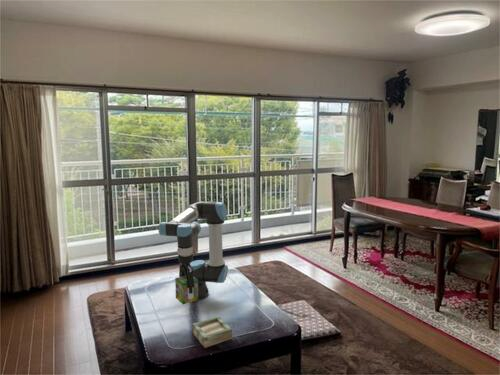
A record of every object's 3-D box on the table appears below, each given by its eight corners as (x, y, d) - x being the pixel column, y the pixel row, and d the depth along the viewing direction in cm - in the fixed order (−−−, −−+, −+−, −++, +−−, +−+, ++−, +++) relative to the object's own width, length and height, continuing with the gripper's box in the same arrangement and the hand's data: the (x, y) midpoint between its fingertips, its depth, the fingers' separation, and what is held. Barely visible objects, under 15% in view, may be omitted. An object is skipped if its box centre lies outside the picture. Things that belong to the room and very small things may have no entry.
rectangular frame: (192, 332, 200) (192, 323, 199) (218, 324, 208) (218, 315, 207) (204, 348, 186) (204, 338, 185) (232, 338, 194) (231, 329, 193)
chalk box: (175, 298, 192) (174, 272, 189) (191, 293, 197) (189, 267, 194) (183, 305, 184) (181, 278, 182) (199, 300, 190) (198, 273, 187)
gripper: (171, 249, 194) (173, 288, 198) (185, 262, 175) (187, 305, 179) (185, 246, 198) (186, 284, 202) (200, 259, 179) (201, 301, 183)
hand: (187, 294), depth 190 cm, fingers closed on chalk box, 9 cm apart
